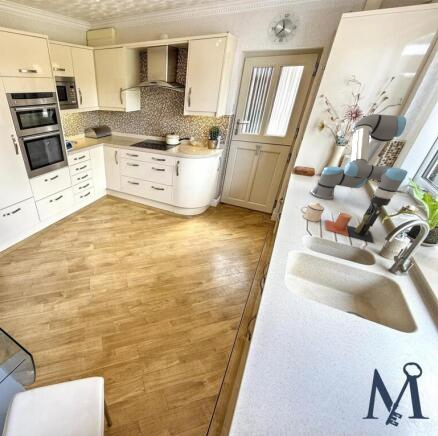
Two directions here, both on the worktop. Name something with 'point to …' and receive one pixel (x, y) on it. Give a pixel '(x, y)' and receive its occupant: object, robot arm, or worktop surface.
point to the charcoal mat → (359, 235)
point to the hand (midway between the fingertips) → (361, 231)
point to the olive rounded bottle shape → (362, 224)
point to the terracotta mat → (330, 228)
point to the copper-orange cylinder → (342, 221)
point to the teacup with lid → (313, 211)
